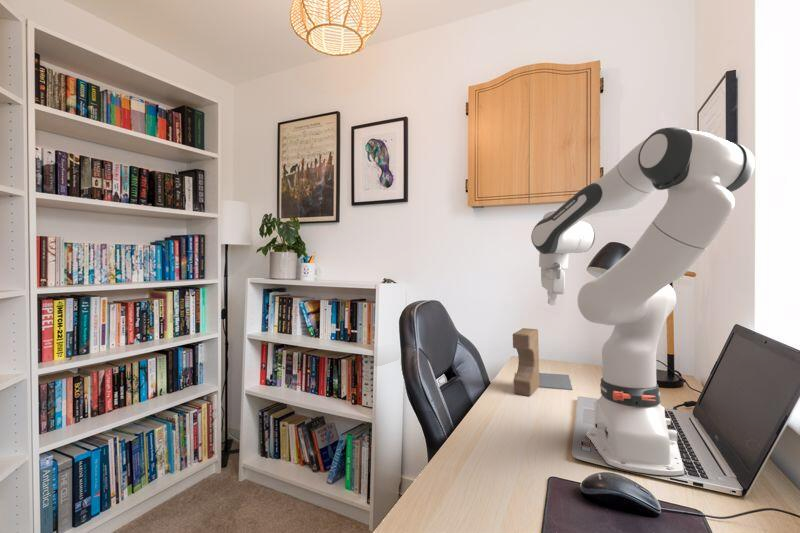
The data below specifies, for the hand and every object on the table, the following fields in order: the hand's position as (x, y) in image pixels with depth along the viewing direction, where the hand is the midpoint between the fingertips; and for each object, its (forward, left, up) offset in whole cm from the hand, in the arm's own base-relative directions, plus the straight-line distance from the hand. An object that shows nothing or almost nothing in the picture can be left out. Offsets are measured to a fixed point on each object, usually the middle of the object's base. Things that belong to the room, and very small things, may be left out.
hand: (551, 304), depth 126 cm
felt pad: (+16, +3, -29) cm, 34 cm away
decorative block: (+2, +8, -29) cm, 31 cm away
